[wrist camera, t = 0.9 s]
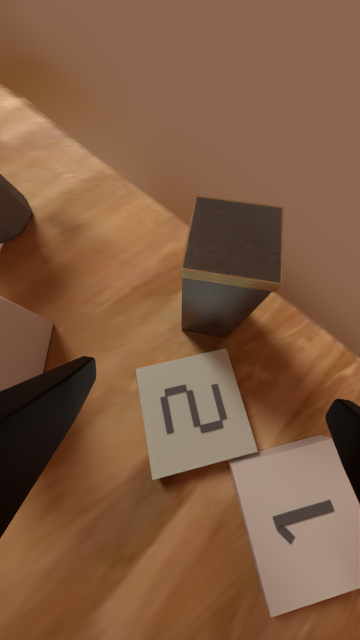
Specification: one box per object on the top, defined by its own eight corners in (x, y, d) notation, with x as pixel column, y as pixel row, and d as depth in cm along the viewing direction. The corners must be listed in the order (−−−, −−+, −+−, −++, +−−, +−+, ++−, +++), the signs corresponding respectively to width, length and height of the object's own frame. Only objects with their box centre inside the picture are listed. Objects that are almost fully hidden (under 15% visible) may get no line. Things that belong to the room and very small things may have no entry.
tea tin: (228, 339, 21) (282, 284, 10) (180, 330, 22) (180, 269, 10) (232, 295, 23) (283, 206, 12) (188, 288, 23) (195, 195, 12)
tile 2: (251, 446, 18) (258, 451, 17) (154, 472, 18) (152, 480, 16) (223, 350, 21) (226, 347, 19) (138, 370, 20) (135, 368, 19)
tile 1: (370, 560, 16) (391, 579, 14) (262, 595, 15) (271, 619, 13) (320, 434, 18) (332, 438, 17) (227, 459, 18) (231, 466, 16)
